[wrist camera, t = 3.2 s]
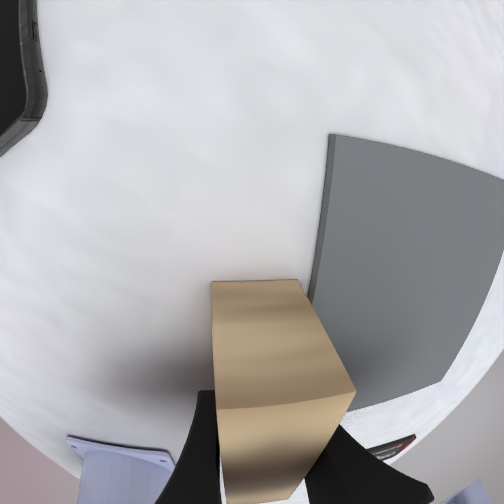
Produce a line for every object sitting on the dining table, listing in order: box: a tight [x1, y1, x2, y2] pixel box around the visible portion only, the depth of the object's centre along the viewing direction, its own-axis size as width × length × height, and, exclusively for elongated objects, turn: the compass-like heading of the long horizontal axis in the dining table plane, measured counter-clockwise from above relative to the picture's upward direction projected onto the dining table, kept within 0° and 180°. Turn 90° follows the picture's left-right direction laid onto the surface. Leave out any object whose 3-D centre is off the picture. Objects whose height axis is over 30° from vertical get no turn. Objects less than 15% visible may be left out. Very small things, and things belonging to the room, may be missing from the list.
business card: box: [366, 434, 416, 461], centre depth 20 cm, size 10×1×5 cm
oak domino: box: [211, 279, 357, 504], centre depth 9 cm, size 10×3×5 cm, turn 177°
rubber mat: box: [308, 134, 504, 412], centre depth 11 cm, size 14×12×1 cm
